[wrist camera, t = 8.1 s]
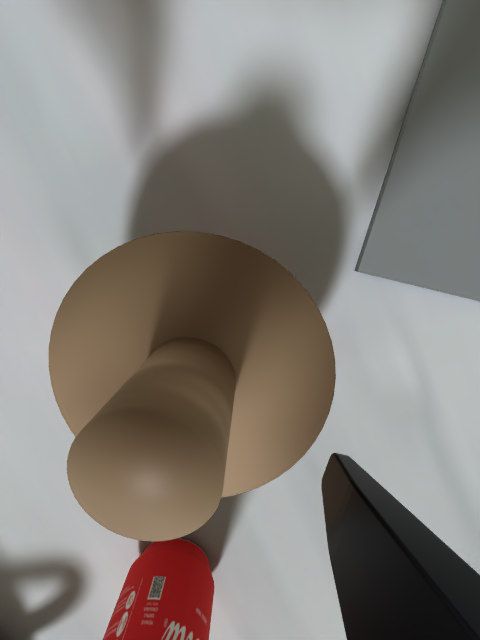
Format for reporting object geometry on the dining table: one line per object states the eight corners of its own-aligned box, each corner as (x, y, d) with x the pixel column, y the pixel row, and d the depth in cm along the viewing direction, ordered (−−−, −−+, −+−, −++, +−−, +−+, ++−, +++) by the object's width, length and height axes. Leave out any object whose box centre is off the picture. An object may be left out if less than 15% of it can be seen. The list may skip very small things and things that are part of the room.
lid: (367, 269, 10) (486, 296, 5) (289, 505, 12) (315, 687, 7) (74, 202, 10) (-120, 154, 5) (54, 454, 12) (-88, 602, 7)
